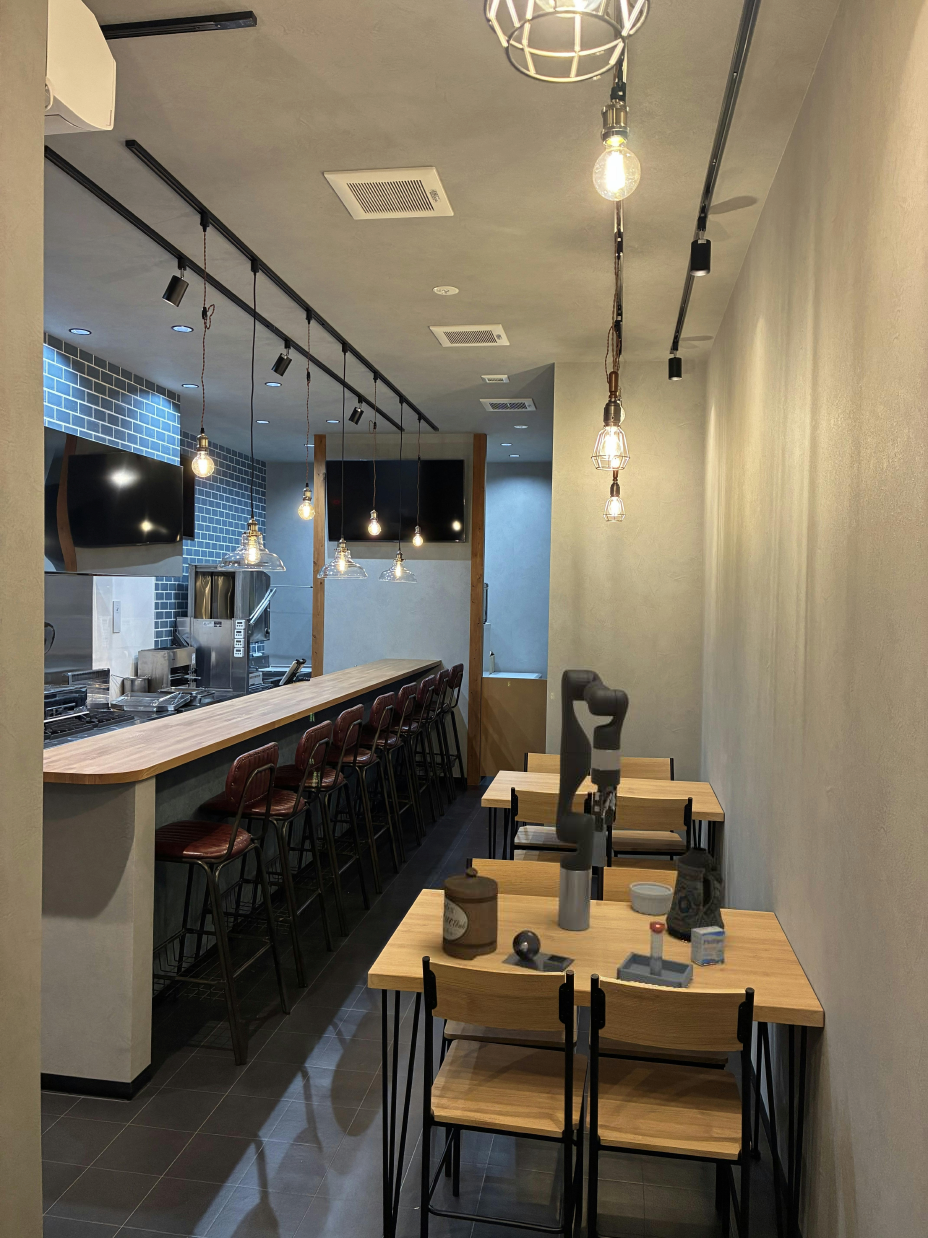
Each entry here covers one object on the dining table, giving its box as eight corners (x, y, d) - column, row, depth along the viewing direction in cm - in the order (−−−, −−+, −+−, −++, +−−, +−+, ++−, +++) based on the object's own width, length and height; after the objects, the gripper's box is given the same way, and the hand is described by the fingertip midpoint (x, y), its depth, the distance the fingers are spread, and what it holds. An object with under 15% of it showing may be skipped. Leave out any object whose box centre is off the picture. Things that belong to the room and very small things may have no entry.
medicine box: (700, 967, 229) (701, 934, 229) (689, 960, 233) (691, 928, 233) (724, 963, 232) (725, 930, 232) (713, 957, 236) (714, 925, 236)
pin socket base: (519, 951, 235) (520, 921, 235) (575, 963, 228) (576, 933, 228) (500, 966, 224) (501, 935, 224) (559, 979, 217) (560, 947, 217)
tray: (630, 965, 228) (631, 952, 228) (692, 978, 221) (693, 964, 221) (616, 983, 216) (617, 969, 216) (681, 997, 209) (681, 983, 209)
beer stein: (683, 920, 265) (686, 838, 265) (743, 938, 251) (746, 851, 251) (654, 933, 253) (657, 847, 253) (716, 952, 239) (719, 861, 239)
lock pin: (649, 972, 221) (651, 920, 221) (664, 975, 219) (666, 923, 219) (646, 978, 217) (648, 925, 217) (661, 981, 216) (663, 928, 216)
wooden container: (434, 942, 239) (437, 862, 239) (484, 937, 244) (487, 859, 244) (453, 963, 225) (455, 878, 225) (505, 957, 231) (508, 874, 231)
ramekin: (645, 900, 283) (646, 879, 283) (680, 911, 273) (681, 889, 273) (620, 908, 274) (621, 886, 274) (655, 920, 264) (656, 897, 264)
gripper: (600, 761, 234) (598, 821, 234) (583, 768, 221) (581, 832, 221) (627, 763, 231) (625, 825, 231) (612, 771, 218) (609, 836, 218)
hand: (603, 828), depth 226 cm, fingers open, 8 cm apart
